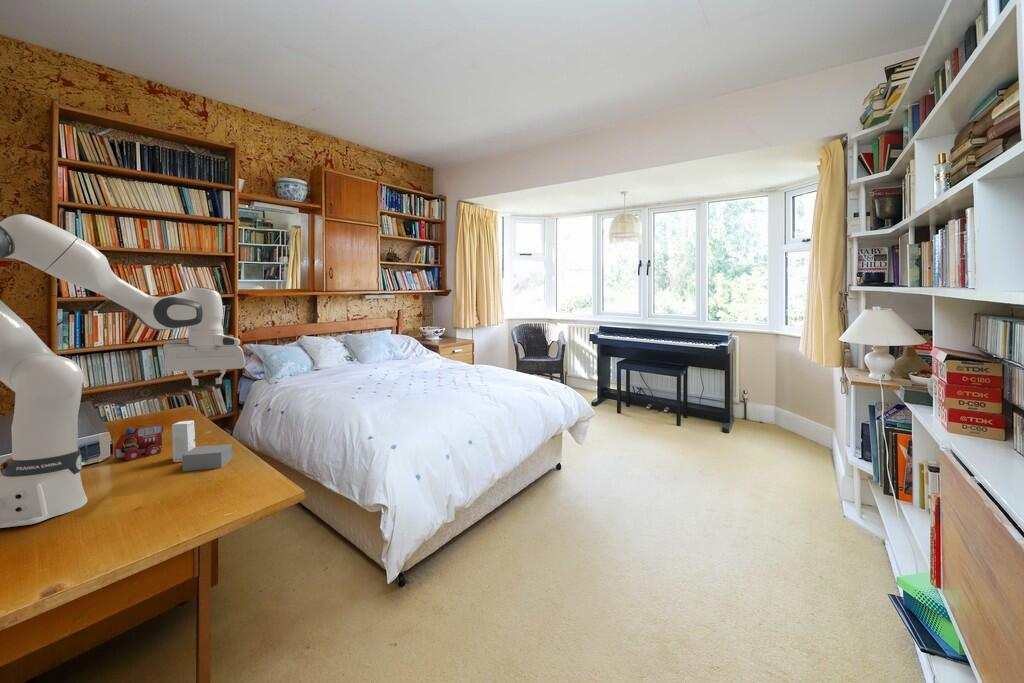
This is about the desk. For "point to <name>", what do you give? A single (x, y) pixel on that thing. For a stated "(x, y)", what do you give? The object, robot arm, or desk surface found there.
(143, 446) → the toy fire truck
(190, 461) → the gray riser
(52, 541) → the desk surface
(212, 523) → the desk surface
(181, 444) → the skincare box
